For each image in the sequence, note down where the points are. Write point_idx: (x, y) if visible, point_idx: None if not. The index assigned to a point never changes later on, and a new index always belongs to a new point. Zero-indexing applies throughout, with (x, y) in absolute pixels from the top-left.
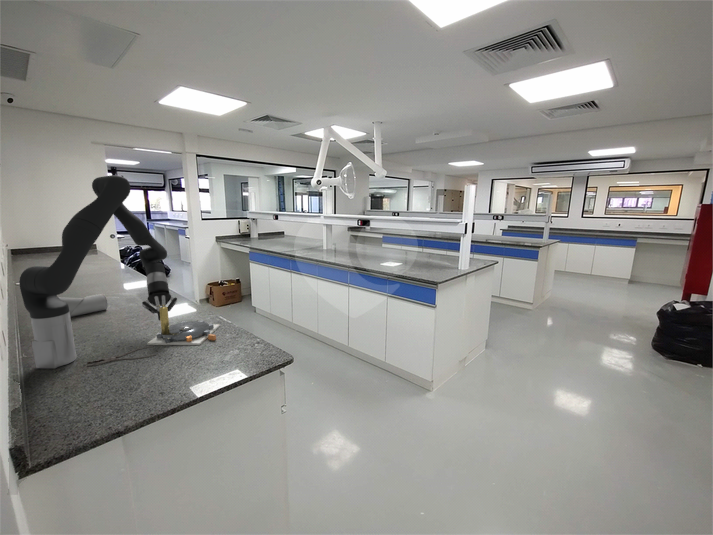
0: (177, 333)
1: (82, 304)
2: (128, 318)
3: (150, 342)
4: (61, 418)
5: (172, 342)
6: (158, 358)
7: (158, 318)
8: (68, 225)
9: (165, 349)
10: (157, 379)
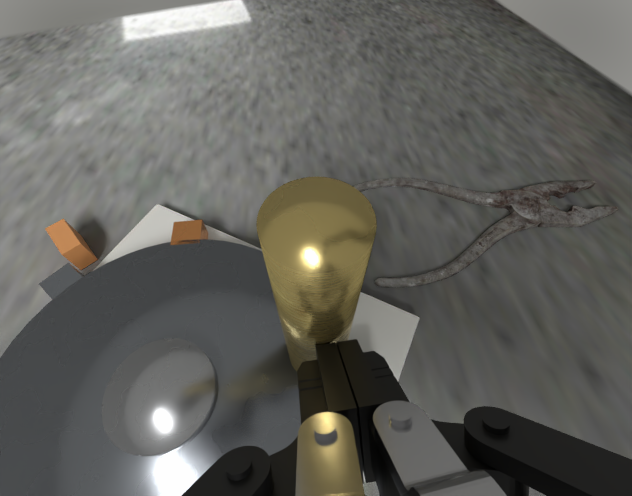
0: (239, 316)
1: None
2: None
3: (401, 315)
4: (476, 15)
5: None
6: (334, 158)
7: (383, 364)
8: None
9: None
10: (322, 59)
